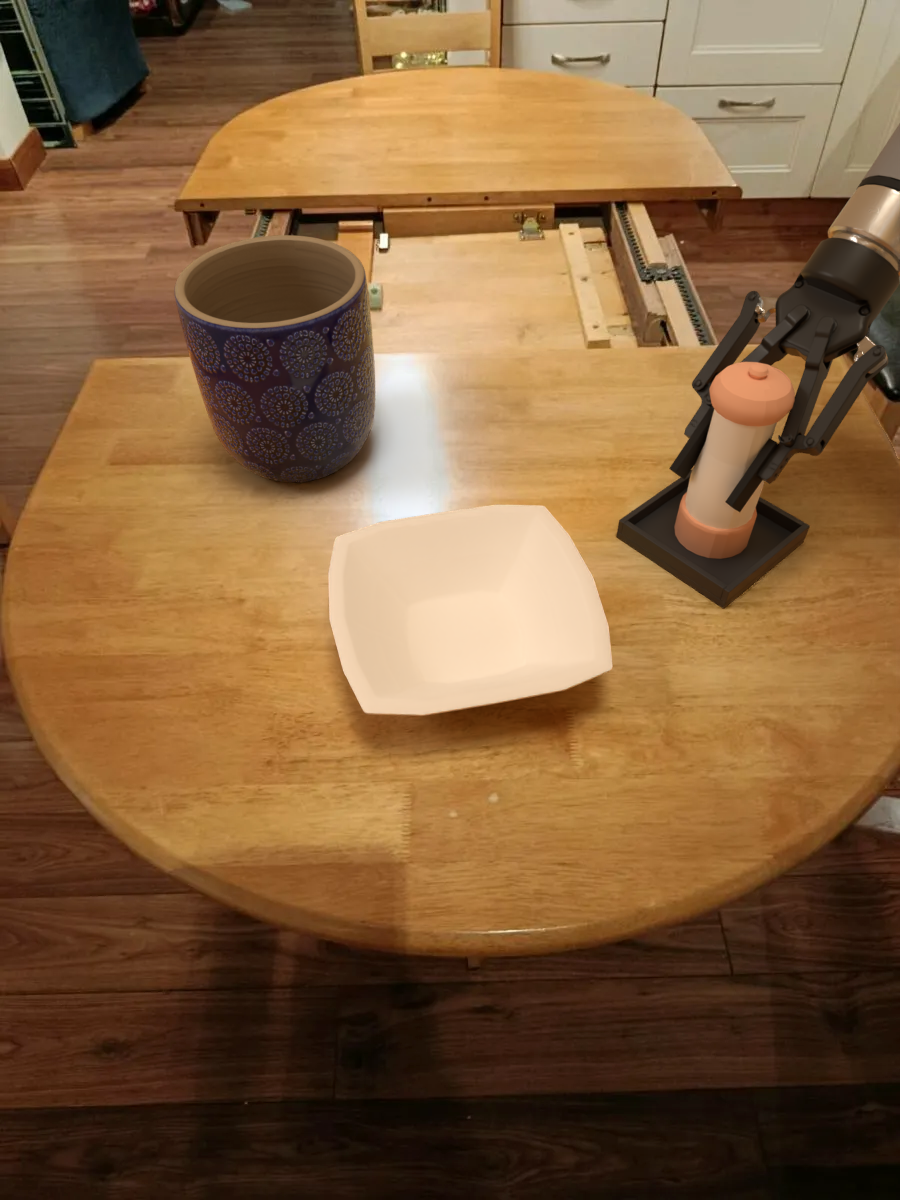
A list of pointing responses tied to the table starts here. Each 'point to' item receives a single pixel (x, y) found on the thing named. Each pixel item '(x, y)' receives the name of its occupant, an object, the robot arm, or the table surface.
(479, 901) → the table surface
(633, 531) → the tray
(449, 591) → the bowl
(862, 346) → the robot arm
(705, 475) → the pepper shaker
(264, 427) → the planter
